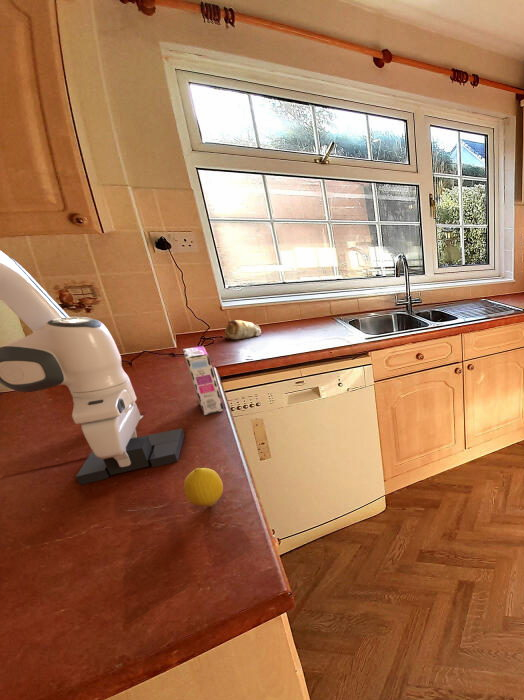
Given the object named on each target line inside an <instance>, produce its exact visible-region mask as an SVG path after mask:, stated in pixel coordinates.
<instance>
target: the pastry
mask: <svg viewBox="0 0 524 700" xmlns="http://www.w3.org/2000/svg"><path fill="white" fill-rule="evenodd" d="M224 334H225V335H224V338H225V339H227V340H228V339H229V340H243V339H249V338H254V337H260V335H261V334H262V330H261V327H260V325H256V324H255V323H253V322H252V321H251V322H250V321H245V320H241V319H237V320H236V319H233V320H229V321H228V322H227V325H226V326H225V329H224Z"/></svg>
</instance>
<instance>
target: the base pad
mask: <svg viewBox="0 0 524 700" xmlns="http://www.w3.org/2000/svg"><path fill="white" fill-rule="evenodd" d="M146 436H148V438H149V441H150V443H151V446H152V448H153V452H152V454H151V457H150V462H151V463H150V466H151V467H152V468H157V467H161V466H166V465H169V464H174V463H177V462H178V461H179V459H180V454H181V450H182V446H183V443H184V438H185V433H184V429H183V427H182V428H181V427H180V428H176V429H172V430H167V431H162V432H156V433H153V434H148V435H146ZM110 476H111V475H110V474H109V471H108V469H107V467H106V465H105V462H104V460H103V459H100V458H98V457H97V456H96V455H95V454H94V453H93V451H92V450H91V452H90V454H89V455H88V457H87V458H86V460H85V461H84V463H83V465H82V466H81V467H80V469H79V471H78V472H77V474H76V475H75V478H76V480H77V483H78V485H79V486H81V485H85V484H89V483H90V484H91V483H95V482H98V481H103V480H106V479H109V478H110Z"/></svg>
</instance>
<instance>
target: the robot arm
mask: <svg viewBox="0 0 524 700" xmlns="http://www.w3.org/2000/svg"><path fill="white" fill-rule="evenodd" d="M0 300H1V301H2V302H3V303H4V304H5V305H6V306H7V307H8V308H9V309H10V310H11V311H12V312H13V313H14V314H15V315H16V316H17V317H18V318H19V319H20V320H21V321H22V322H23V323H24V324H25V325H26V326H27V327H28V328H29V329H30V330H31V332H32V333H30V334H29V335H26V336H24V337H21V338H19V339H16V340H13V341H11V342H8V343H6V344H3V345H1V346H0V385H2V386H4V387H6V388H7V389H10V390H12V391H16V392H21V393H34V392H38V391H43V390H46V389H50V388H54V387H56V386H57V387H58V386H66V387H67V388H68V390H69V393H70V395H71V397H72V402H73V409H72V413H71V419H72V420H73V422H74V424H75V425H80V426H81V431H82V434H83V436H84V438H85V440H86V443H87V444H88V445H89V448H90V449H91V452H92V451H93V453H94V454H95V455H96V456H97V457H98V458H100V459H106V458H111V457H113V458H114V459H116V460H117V462H118V464H119V466H120V467H125V466H129V465H130V464H131V462H132V460H131V457H130V455H128V454H127V452H126V446H127V444H128V442H129V440H130V439H132V438H137V437H138V434H137V429H136V428H137V426H138V424H139V422H140V420H141V419H140V416H141V412H140V410H139V408H138V405H137V403H136V401H137V400H138V397H137V395H136V393H135V390H134V387H133V385H132V382H131V379H130V377H129V375H128V374H127V372H125V370H124V368H123V366H122V356H121V354H120V351H119V349H118V346H117V344H116V342H115V339H114V338H113V336H112V334H111V332H110V330H108V328H107V327H106V326H105V324H104V323H103V322H101V321H99V320H98V319H95V318H91V317H85V316H70V315H68V314H67V312H65V310H64V309H63V308H62V307H61V306H60V305H59V304H58V303H57V302H56V301H55V300H54V298H53V297H51V295H49V293H48V292H47V291H46V290H45V289H44V288H43V286H42V285H40V284H39V283H38V282H37V280H36V279H35V278H34V277H33V276H32V275H31V274H30V273H29V272H28V271H27V270H26V269H25V268H24V266H22V265H21V264H20V263H19V262H18V261H16V260H15V259H13V258H12V257H11V256H9V255H8V254H6V253H5V252H3V251H2V250H1V249H0Z"/></svg>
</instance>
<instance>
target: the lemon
mask: <svg viewBox="0 0 524 700" xmlns="http://www.w3.org/2000/svg"><path fill="white" fill-rule="evenodd" d="M183 488H184V494H185V497H186V499H187V500H188V501H189V502H190V503H191V504H193V505H194V506H199V507H205V506H206V507H211V506H213V504H214V503H216V502H217V501H218V500H219V499H220V498H221V497H222V495H223V492H224V484H223V481H222V479H221V476H220V475H219V474H218V472H216V471H215V470H214V469H212V468H208V467H196V468H195V469H194V470H192V471H191V472H190V473H189V474H188V475H187V476H186V478H185V480H184V483H183Z"/></svg>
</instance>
